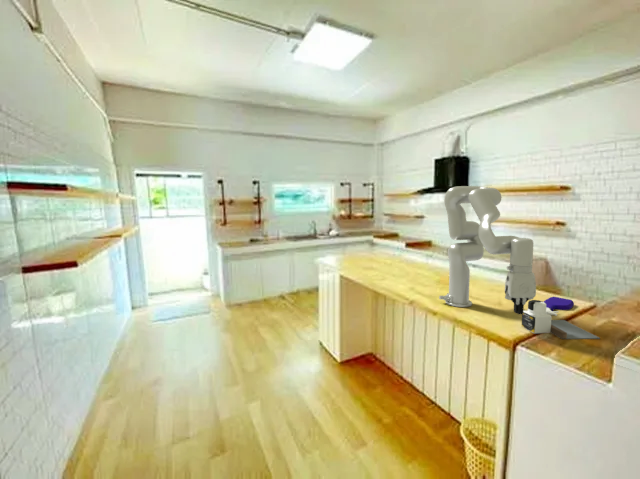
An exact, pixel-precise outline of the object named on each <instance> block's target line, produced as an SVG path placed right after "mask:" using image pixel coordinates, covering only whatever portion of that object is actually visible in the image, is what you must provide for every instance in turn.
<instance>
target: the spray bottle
mask: <svg viewBox="0 0 640 479" xmlns="http://www.w3.org/2000/svg"><path fill="white" fill-rule="evenodd" d="M543 302H545V303H546V314H549V315H551V316H555V317H557V316H558V313H559V311H569V310H571V309H572V308H573V307H574V304H575V302H574V301H573V300H572V299H568V298H562V297H558V296H550V297H548V298H547V299H545V300H544V301H543ZM554 310H559V311H554Z"/></svg>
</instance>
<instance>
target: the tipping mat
mask: <svg viewBox="0 0 640 479" xmlns="http://www.w3.org/2000/svg"><path fill="white" fill-rule="evenodd" d="M550 334H552V335H554V336H556V337H557V338H558V339H561V340H600V339H601V338H600V337H599V336H597V335H596V334H593V333H591V332H589V331H587V330H585V329H583V328H581V327H579V326H577V325H575V324H573V323H571V322H570V321H567V320H565V319H551V332H550Z"/></svg>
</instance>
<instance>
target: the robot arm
mask: <svg viewBox="0 0 640 479" xmlns="http://www.w3.org/2000/svg"><path fill="white" fill-rule="evenodd" d="M502 198H503V197H502V194H501V192H500V190H498V189H497V188H494V187H488V186H487V187H485V186H478V185H473V186H472V185H471V186H470V185H468V186H467V185H461V186H453V187H450V188H449V189H448V190H447V191H446V193H445V195H444V199H443V200H444V206H445V210H446V214H447V223H448V225H447V226H448V232H449V237H450V238H451V240H454V241H466V242H456V243H455V242H454V243H453V244H451V245H449V247H448V249H447V256H448V258H447V259H448V263H449V270H448V271H449V273H448V274H449V276H448V279H449V280H448V293H446V294H445V295H439V297H438V298H439V300H443V301H445V303H446V304H447V305H449V306H452V307H455V308H456V307H457V308H468V307H472V305H473V302H472V300H470V277H471V275H470V274H471V273H470V272H471V271H470V267H469V265H468V264H467V262H474V261H479V260H481V259H482V257H483V256H484V253H485V252H484V251H486V252H488V253H489V254H490V255H504V254H505V255H508V254H509V261H510V262H509V265H508V266H506V270H508V271H507V274H506V277H505V283H504V294H505V295H504V298H505V299H506V300H508V301H511V302H512V303H513V312H514V313H515V314H517V315H522V314H523V311H525V309H524V307H525V306H524V305H526V303H527V302H529V301H531V300H534V298H535V297H536V295H537V294H536V293H537V284H536V283H537V282H536V275H535V273H534V272H533V260H534V259H533V258H534V257H533V256H534V240H533V239H531V238H528V237H527V238H526V237H519V236H516V235H498V236H497V235H495V234H494V232H493V229H492V227H491V226H492V225H491V224H493V223H494V222H496V221H497V220H498V219H499V218H500V217H501V212H500V210H499V209H498V207H497V206H498V205H500V203H501V201H502ZM461 204H470V205H471V208H472V209H473V211H474V213H475V214H476V217H477V218H478V220H479V222H480V223H478V222H477V221H473V220H471V221H469V220H467V215H466V211H465V209H464V207H463V206H462V205H461ZM484 249H485V250H484Z"/></svg>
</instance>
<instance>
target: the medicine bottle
mask: <svg viewBox="0 0 640 479" xmlns="http://www.w3.org/2000/svg"><path fill="white" fill-rule="evenodd" d="M527 302H528V304H527V310H523V314H521V316H522V317H521V328H523V329H525V330H527V331H529V332H530V333H532V334H549V333H550V334H551V320H552V316H553V315H549V314H546V303H545V302H544V301H542V300H539V299H538V300H537V299H531V300H528V301H527Z"/></svg>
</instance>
